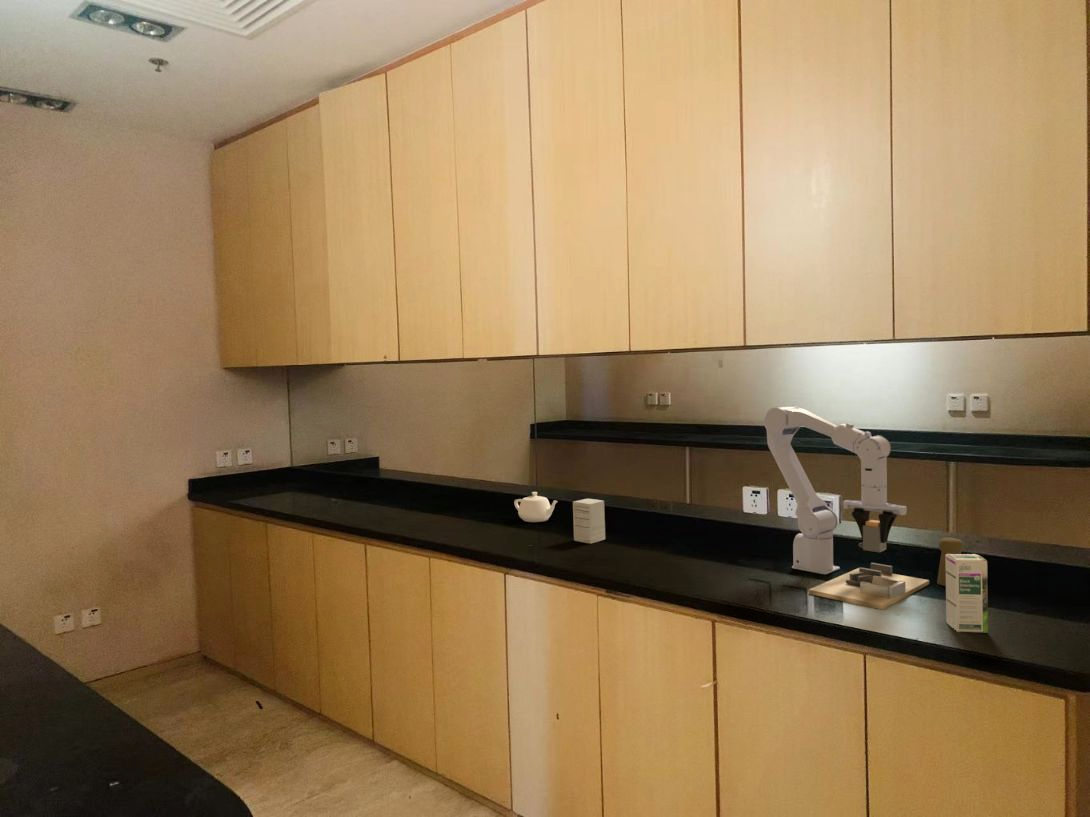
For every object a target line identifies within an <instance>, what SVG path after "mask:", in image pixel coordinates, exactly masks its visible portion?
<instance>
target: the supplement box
mask: <svg viewBox="0 0 1090 817" xmlns="http://www.w3.org/2000/svg"><path fill="white" fill-rule="evenodd" d="M572 514H573V515H572V516H573V520H572V521H573V541H575V542H580V543H585V544H594V543H598V542H601V541H604V540H606V521H605V520H606V519H605V518H606V517H605V515H606V514H605V500H601V499H594V498H584V499H579V500H575V501H572Z"/></svg>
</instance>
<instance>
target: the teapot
mask: <svg viewBox="0 0 1090 817" xmlns="http://www.w3.org/2000/svg"><path fill="white" fill-rule="evenodd" d="M531 494H532V495H530V496H527V497H523V498H522V499H521V498H518V499H514V502H513V503H514V506H515V509H516V510H517V511H518V512H517V514H518V516H519V518H520V519H522V520H523V521H524V522H528V523H538V522H539V523H541V522H546V521H548V520H549V518H550V517H551V516H552V514H553V511H554V509H555V505H556V504H557V503H558V500H553V502H552V503H551V504H550V501H549V499H548V498H547V497H545V496H541V495H538V492H537V491H532V492H531Z"/></svg>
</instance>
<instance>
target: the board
mask: <svg viewBox="0 0 1090 817" xmlns="http://www.w3.org/2000/svg"><path fill="white" fill-rule="evenodd" d="M859 568H860V567H858V568H856V569H852V570H850V571H849V572H846V573H843V574H842V575H839V576H837V577H834V578H832V579H829V580H827V581H825V582H823V583H821V584H818V585H815V586H814V587H811V588H810V589H808V594H809V595H812V596H813V595H814V596H818V597H823V598H827V599H832V600H836V601H841V602H846V603H849V604H855V605H859V606H865V607H868V608H873V609H879V610H885V609H887V608H888V607H891V606H893V605H894V604H896V603H897V602H900V601H901V600H903V599H904V598H906V597H908V596H910V595H912V594H914V593H916V592H918V591H920V590H921V589H924V588H926V587H927V586H929V585H930V580H929V579H924V578H918V577H915V576H908V575H904V574H903V575H901V574H896V573H892V574H891V575H888V574H883V573H882V577H885V578H891V579H896V580H901V581H906V592H905V593H903V594H901V595H899V596H897V597H895V598H893V599H887V598H882V597H877V596H872V595H867V594H863V593H860V586H855V585H850V584H847V583H846V580H850V574H851V573H858V572H859ZM872 583H873V580H872Z"/></svg>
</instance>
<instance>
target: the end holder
mask: <svg viewBox="0 0 1090 817" xmlns="http://www.w3.org/2000/svg"><path fill="white" fill-rule="evenodd" d="M905 592H906V581H901V580H896V579H891V578H885V577H880V576H873V583H868V582H863V581H862V582H860V593H863V594H867V595H872V596H877V597H882V598H887V599H893V598H895V597H897V596H899V595H901V594H903V593H905Z"/></svg>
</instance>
